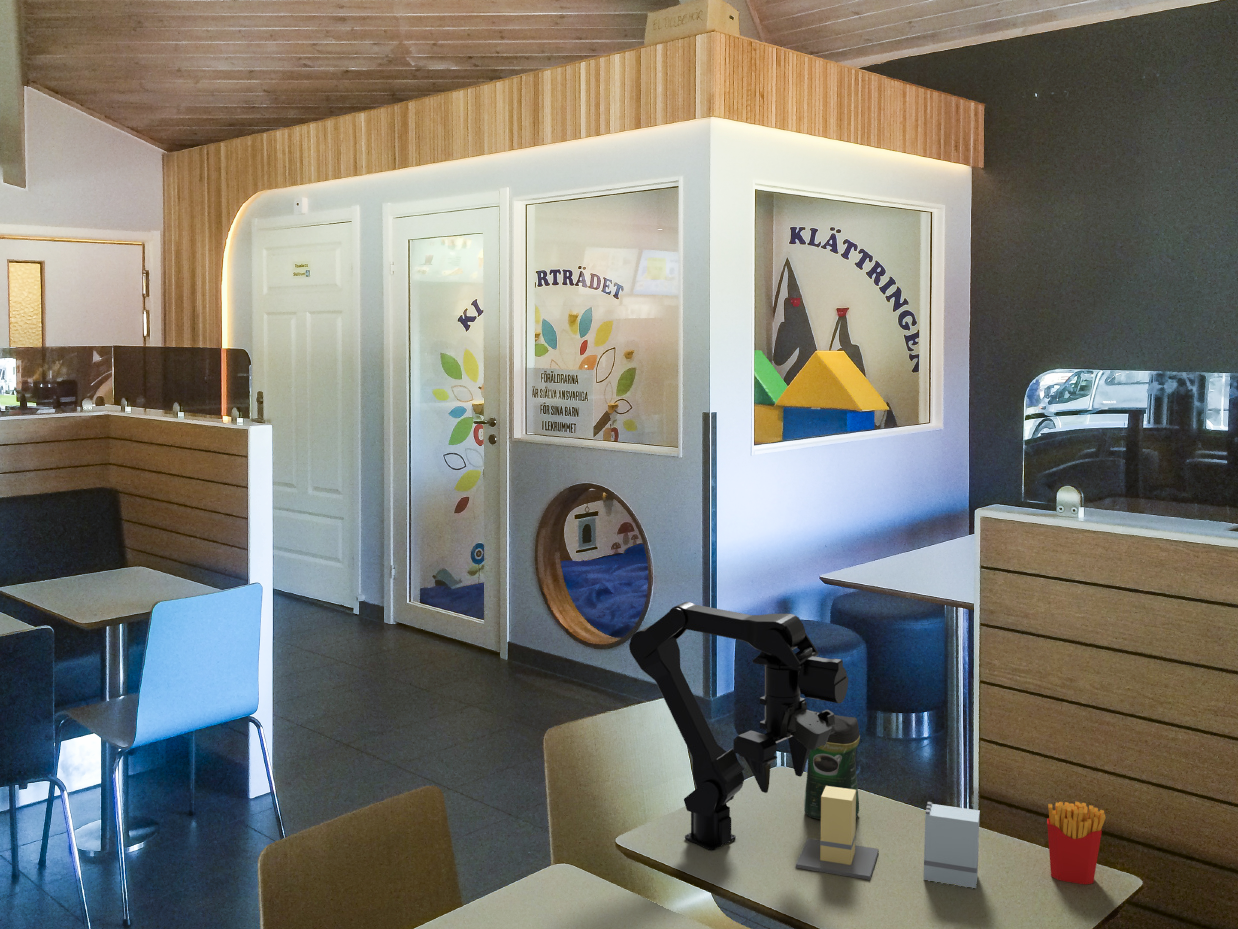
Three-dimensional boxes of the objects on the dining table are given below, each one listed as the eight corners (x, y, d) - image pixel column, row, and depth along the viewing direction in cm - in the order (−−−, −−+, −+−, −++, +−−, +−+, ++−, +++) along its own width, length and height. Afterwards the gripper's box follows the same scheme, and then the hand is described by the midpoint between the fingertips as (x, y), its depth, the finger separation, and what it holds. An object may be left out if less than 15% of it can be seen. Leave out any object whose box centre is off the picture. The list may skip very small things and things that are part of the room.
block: (820, 860, 183) (821, 796, 181) (824, 848, 187) (825, 785, 186) (851, 865, 181) (852, 800, 180) (855, 852, 185) (856, 789, 184)
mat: (795, 867, 182) (795, 864, 181) (807, 841, 191) (807, 837, 191) (870, 880, 177) (870, 876, 177) (878, 852, 187) (878, 848, 186)
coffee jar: (863, 810, 203) (865, 712, 200) (851, 828, 196) (853, 727, 193) (811, 801, 207) (813, 705, 205) (798, 817, 200) (799, 718, 198)
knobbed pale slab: (923, 880, 177) (925, 812, 176) (926, 867, 181) (927, 801, 180) (976, 889, 174) (978, 820, 173) (977, 875, 178) (979, 808, 177)
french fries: (1045, 878, 177) (1048, 806, 176) (1045, 867, 181) (1048, 797, 179) (1102, 887, 174) (1106, 815, 173) (1101, 876, 178) (1105, 804, 176)
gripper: (787, 718, 169) (786, 816, 171) (856, 690, 182) (855, 781, 184) (731, 701, 177) (731, 795, 179) (801, 675, 190) (800, 763, 192)
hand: (781, 783), depth 183 cm, fingers open, 9 cm apart
